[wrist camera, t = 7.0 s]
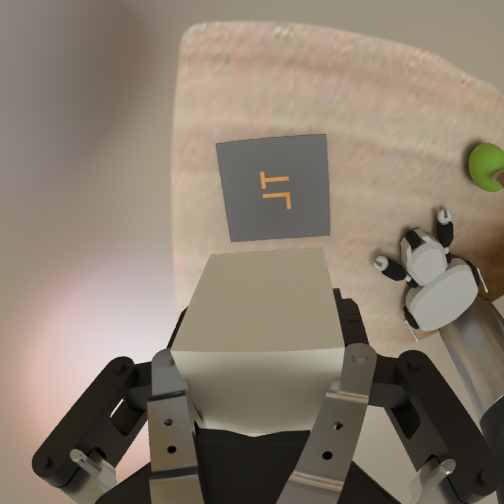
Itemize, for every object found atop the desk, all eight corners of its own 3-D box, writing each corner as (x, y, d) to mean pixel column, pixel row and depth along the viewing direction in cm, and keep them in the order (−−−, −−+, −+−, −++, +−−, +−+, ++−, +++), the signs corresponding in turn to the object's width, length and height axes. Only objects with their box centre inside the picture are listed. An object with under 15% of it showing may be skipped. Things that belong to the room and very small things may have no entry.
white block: (322, 247, 13) (344, 347, 8) (321, 331, 15) (331, 430, 10) (210, 254, 14) (170, 350, 8) (228, 335, 16) (207, 430, 11)
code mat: (325, 134, 27) (325, 134, 27) (329, 234, 32) (329, 235, 32) (216, 143, 29) (215, 144, 28) (231, 240, 34) (231, 242, 34)
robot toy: (361, 253, 34) (410, 327, 38) (368, 271, 30) (419, 348, 34) (439, 195, 30) (477, 280, 33) (456, 205, 26) (491, 297, 29)
